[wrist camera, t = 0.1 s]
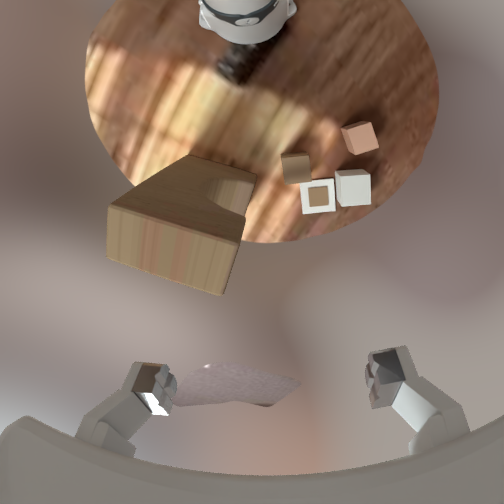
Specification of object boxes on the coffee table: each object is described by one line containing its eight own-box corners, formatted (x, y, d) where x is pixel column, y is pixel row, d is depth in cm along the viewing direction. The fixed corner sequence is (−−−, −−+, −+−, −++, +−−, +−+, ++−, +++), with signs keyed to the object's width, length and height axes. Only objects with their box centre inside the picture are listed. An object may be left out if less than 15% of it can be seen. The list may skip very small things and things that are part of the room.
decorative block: (257, 174, 54) (240, 243, 28) (246, 207, 57) (222, 298, 31) (187, 153, 52) (108, 203, 26) (179, 187, 56) (106, 259, 30)
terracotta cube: (340, 127, 47) (346, 129, 43) (362, 120, 46) (370, 122, 42) (348, 151, 50) (355, 155, 45) (370, 143, 48) (379, 147, 44)
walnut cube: (280, 154, 51) (281, 158, 47) (305, 151, 51) (309, 155, 46) (284, 178, 54) (285, 184, 49) (308, 175, 53) (311, 181, 49)
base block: (334, 170, 52) (340, 176, 48) (362, 168, 51) (370, 174, 47) (336, 198, 55) (341, 206, 50) (363, 196, 54) (370, 204, 50)
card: (299, 181, 54) (299, 182, 53) (333, 178, 53) (333, 179, 52) (302, 213, 57) (303, 214, 56) (335, 210, 56) (335, 211, 55)
